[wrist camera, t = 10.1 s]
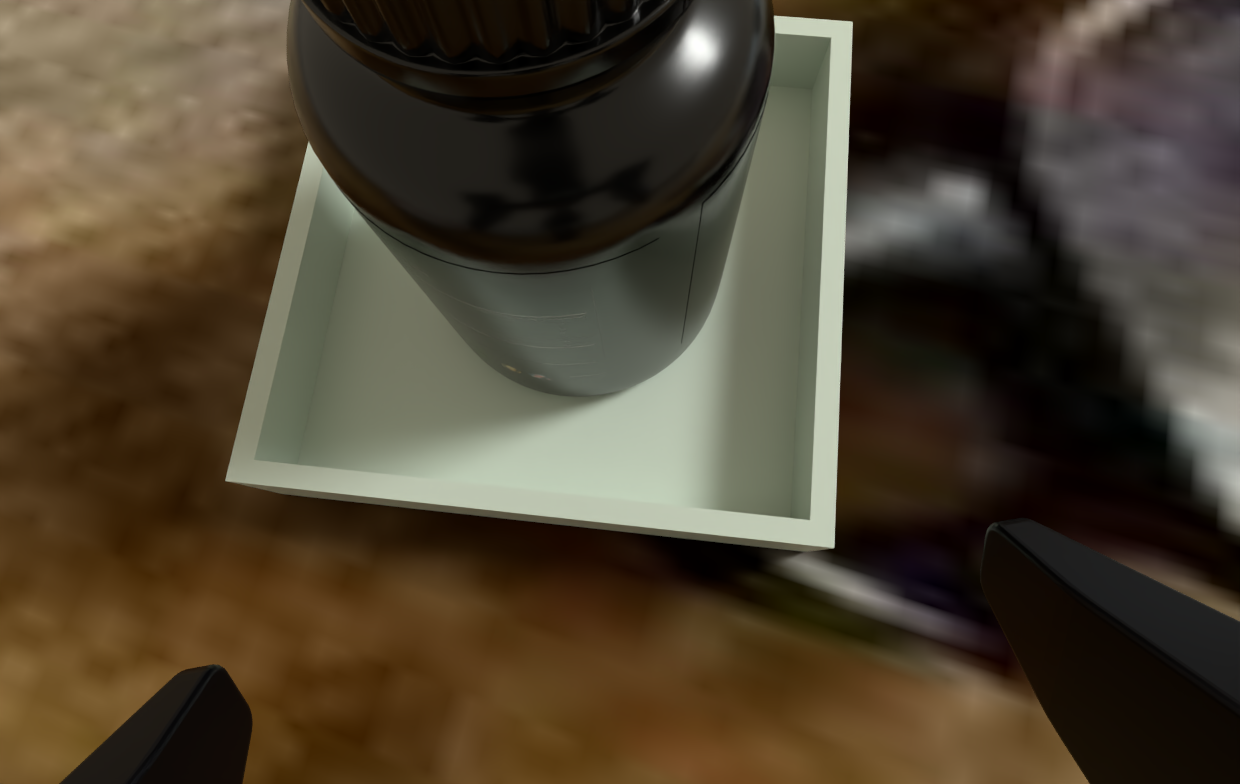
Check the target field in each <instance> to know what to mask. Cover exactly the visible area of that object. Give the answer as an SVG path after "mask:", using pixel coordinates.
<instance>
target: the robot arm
mask: <svg viewBox="0 0 1240 784" xmlns="http://www.w3.org/2000/svg"><path fill="white" fill-rule="evenodd" d="M980 580H981V585H982V589H983V592H984V594H985V596H986V598H987V600H988V602H989V604H990V606H991V608H992V610H993V612H994V614H995V616H996V618H997V620H998V622H999V624H1000V626H1001V628H1002V630H1003V632H1004V634H1005V636H1006V638H1007V640H1008V642H1009V644H1010V646H1011V648H1012V650H1013V652H1014V653H1015V655H1016V657H1017V659H1018V661H1019V663H1020V665H1021V667H1022V669H1023V671H1024V673H1025V675H1026V677H1027V679H1028V681H1029V683H1030V685H1031V687H1032V689H1033V691H1034V693H1035V695H1036V697H1037V699H1038V700H1039V702H1040V704H1041V706H1042V708H1043V710H1044V712H1045V713H1046V715H1047V717H1048V718H1049V720H1050V722H1051V723H1052V725H1053V727H1054V728H1055V730H1056V732H1057V733H1058V735H1059V737H1060V738H1061V740H1062V741H1063V743H1064V744H1065V746H1066V747H1067V749H1068V751H1069V752H1070V754H1071V755H1072V757H1073V758H1074V760H1075V761H1076V763H1077V765H1078V766H1079V768H1080V769H1081V771H1082V772H1083V774H1084V775H1085V777H1086V779H1087V780H1088V782H1089V783H1090V784H1240V622H1239V621H1237V620H1235V619H1233V618H1231V617H1229V616H1227V615H1225V614H1223V613H1221V612H1219V611H1217V610H1215V609H1213V608H1211V607H1209V606H1207V605H1205V604H1203V603H1201V602H1199V601H1197V600H1195V599H1192V598H1190V597H1188V596H1186V595H1184V594H1182V593H1180V592H1178V591H1176V590H1174V589H1172V588H1170V587H1168V586H1166V585H1164V584H1162V583H1160V582H1158V581H1156V580H1154V579H1152V578H1150V577H1148V576H1146V575H1143V574H1141V573H1139V572H1137V571H1135V570H1133V569H1131V568H1129V567H1127V566H1125V565H1123V564H1121V563H1119V562H1117V561H1115V560H1113V559H1111V558H1109V557H1107V556H1105V555H1103V554H1101V553H1099V552H1096V551H1094V550H1092V549H1090V548H1088V547H1086V546H1084V545H1082V544H1080V543H1078V542H1076V541H1074V540H1072V539H1070V538H1068V537H1066V536H1064V535H1062V534H1060V533H1058V532H1056V531H1054V530H1052V529H1050V528H1047V527H1045V526H1043V525H1041V524H1039V523H1037V522H1035V521H1033V520H1030V519H1027V518H1017V519H1011V520H1006V521H1000V522H995V523H993V524H991V525H990V526H989V528H988V529H987V532H986V537H985V543H984V550H983V557H982V564H981V570H980ZM251 733H252V714H251V711H250V708H249V706H248V704H247V702H246V701H245V699H244V697H243V696H242V694H241V693H240V691H239V690H238V688H237V686H236V685H235V683H234V682H233V680H232V679H231V677H230V675H229V674H228V672H227V671H226V670H225V668H223V667H221V666H220V665H214V664H213V665H208V666H202V667H197V668H191V669H186V670H184V671H181V672H180V673H178V674H177V675H175V676H174V677H173V678H172V679H171V680H170V681H169V682H168V683H167V684H166V685H164V686H163V687H162V688H161V689H160V690H159V691H158V692H157V693H156V694H155V695H154V696H153V697H152V698H151V699H149V700H148V701H147V702H146V703H145V704H144V705H143V706H142V707H141V708H140V709H139V710H138V711H137V712H136V713H134V714H133V715H132V716H131V717H130V718H129V719H128V720H127V721H126V722H125V723H124V724H123V725H122V726H121V727H119V728H118V729H117V730H116V731H115V732H114V733H113V734H112V735H111V736H110V737H109V738H108V739H107V740H106V741H104V742H103V743H102V744H101V745H100V746H99V747H98V748H97V749H96V750H95V751H94V752H93V753H92V754H91V755H89V756H88V757H87V758H86V759H85V760H84V761H83V762H82V763H81V764H80V765H79V766H78V767H77V768H76V769H74V770H73V771H72V772H71V773H70V774H69V775H68V776H67V777H66V778H65V779H64V780H63V781H62V782H61V783H59V784H242V783H243V778H244V772H245V766H246V761H247V755H248V750H249V744H250V738H251Z"/></svg>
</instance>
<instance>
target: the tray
mask: <svg viewBox="0 0 1240 784" xmlns="http://www.w3.org/2000/svg"><path fill="white" fill-rule="evenodd" d="M774 24H775V51H774V60H773V67H772V73H771V80H770V86H769V93H768V97H767V102H766V106H765V110H764V114H763V118H762V122H761V126H760V130H759V134H758V138H757V142H756V145H755V149H754V153H753V157H752V161H751V165H750V169H749V173H748V177H747V181H746V185H745V189H744V193H743V197H742V201H741V204H740V208H739V212H738V216H737V220H736V224H735V228H734V232H733V236H732V240H731V244H730V248H729V252H728V256H727V260H726V263H725V267H724V271H723V275H722V279H721V282H720V286H719V289H718V292H717V296H716V299H715V302H714V304H713V307H712V309H711V312H710V314H709V316H708V318H707V320H706V322H705V324H704V326H703V327H702V329H701V330H700V332H699V334H698V335H697V337H696V338H695V339H694V341H693V342H692V343H691V344H690V346H689V347H688V348H687V349H686V350H685V351H684V352H683V353H682V354H681V355H680V356H679V357H678V358H677V359H676V360H675V361H674V362H673V363H671V364H670V365H669V366H668V367H667V368H665V369H664V370H662V371H661V372H659V373H658V374H656V375H655V376H653V377H651V378H649V379H647V380H646V381H644V382H642V383H639V384H637V385H635V386H632V387H630V388H627V389H624V390H621V391H618V392H613V393H609V394H604V395H597V396H588V397H570V396H559V395H553V394H547V393H543V392H540V391H536V390H533V389H530V388H528V387H525V386H522V385H520V384H518V383H516V382H514V381H512V380H510V379H508V378H506V377H505V376H503V375H502V374H500V373H499V372H497V371H496V370H494V369H493V368H492V367H491V366H489V365H488V364H487V363H486V362H484V361H483V360H482V359H481V358H480V357H479V356H478V355H477V354H476V353H475V352H474V351H473V350H472V349H471V348H470V347H469V345H468V344H467V343H466V342H465V341H464V340H463V339H462V338H461V336H460V335H459V334H458V333H457V332H456V330H455V329H454V328H453V327H452V326H451V324H450V323H449V322H448V321H447V320H446V318H445V317H444V316H443V315H442V313H441V312H440V311H439V310H438V309H437V307H436V306H435V305H434V304H433V303H432V301H431V300H430V299H429V298H428V297H427V295H426V294H425V293H424V292H423V290H422V289H421V288H420V287H419V286H418V284H417V283H416V282H415V281H414V280H413V278H412V277H411V276H410V275H409V274H408V272H407V271H406V270H405V269H404V267H403V266H402V265H401V264H400V263H399V261H398V260H397V259H396V258H395V257H394V255H393V254H392V253H391V252H390V251H389V249H388V248H387V247H386V246H385V245H384V243H383V242H382V241H381V240H380V238H379V237H378V236H377V235H376V234H375V232H374V231H373V230H372V229H371V228H370V226H369V225H368V224H367V223H366V222H365V220H364V219H363V218H362V217H361V215H360V214H359V213H358V212H357V211H356V209H355V208H354V207H353V206H352V205H351V203H350V202H349V201H348V200H347V198H346V197H345V196H344V195H343V194H342V192H341V191H340V190H339V188H338V187H337V186H336V184H335V183H334V181H333V180H332V179H331V177H330V176H329V174H328V173H327V171H326V170H325V168H324V166H323V165H322V163H321V162H320V160H319V159H318V157H317V156H316V154H315V153H314V151H313V149H312V147H311V145H310V143H309V142H308V146H307V150H306V154H305V158H304V162H303V166H302V170H301V174H300V179H299V183H298V187H297V191H296V195H295V199H294V203H293V207H292V211H291V215H290V219H289V223H288V227H287V231H286V235H285V240H284V244H283V248H282V252H281V256H280V260H279V264H278V268H277V272H276V276H275V280H274V284H273V288H272V292H271V296H270V301H269V305H268V309H267V313H266V317H265V321H264V325H263V329H262V333H261V337H260V341H259V345H258V349H257V353H256V357H255V362H254V366H253V370H252V374H251V378H250V382H249V386H248V390H247V394H246V398H245V402H244V406H243V410H242V414H241V418H240V423H239V427H238V431H237V435H236V439H235V443H234V447H233V451H232V455H231V459H230V463H229V467H228V471H227V475H226V479H225V481H227V482H232V483H236V484H240V485H245V486H249V487H254V488H258V489H262V490H267V491H271V492H275V493H280V494H286V495H295V496H304V497H313V498H322V499H331V500H340V501H349V502H359V503H368V504H377V505H386V506H395V507H404V508H413V509H422V510H431V511H440V512H449V513H458V514H467V515H476V516H485V517H494V518H503V519H512V520H521V521H530V522H539V523H548V524H557V525H567V526H576V527H585V528H594V529H603V530H612V531H621V532H630V533H639V534H648V535H657V536H666V537H675V538H684V539H693V540H702V541H711V542H720V543H729V544H738V545H747V546H756V547H766V548H775V549H784V550H793V551H802V552H808V551H816V550H823V549H831V548H834V539H835V511H836V482H837V454H838V426H839V397H840V369H841V340H842V312H843V283H844V255H845V226H846V198H847V169H848V141H849V112H850V84H851V55H852V27H853V22H849V21H835V20H822V19H809V18H796V17H783V16H774Z"/></svg>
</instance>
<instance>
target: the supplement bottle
mask: <svg viewBox="0 0 1240 784" xmlns="http://www.w3.org/2000/svg"><path fill="white" fill-rule="evenodd" d="M774 51H775V24H774V11H773V4H772V0H291V2H290V7H289V16H288V25H287V65H288V74H289V82H290V88H291V93H292V97H293V101H294V105H295V109H296V111H297V114H298V117H299V120H300V122H301V125H302V128H303V131H304V133H305V135H306V137H307V139H308V141H309V143H310V145H311V147H312V149H313V151H314V153H315V154H316V156H317V157H318V159H319V160H320V162H321V163H322V165H323V166H324V168H325V170H326V171H327V173H328V174H329V176H330V177H331V179H332V180H333V181H334V183H335V184H336V186H337V187H338V188H339V190H340V191H341V192H342V194H343V195H344V196H345V197H346V198H347V200H348V201H349V202H350V203H351V205H352V206H353V207H354V208H355V209H356V211H357V212H358V213H359V214H360V215H361V217H362V218H363V219H364V220H365V222H366V223H367V224H368V225H369V226H370V228H371V229H372V230H373V231H374V232H375V234H376V235H377V236H378V237H379V238H380V240H381V241H382V242H383V243H384V245H385V246H386V247H387V248H388V249H389V251H390V252H391V253H392V254H393V255H394V257H395V258H396V259H397V260H398V261H399V263H400V264H401V265H402V266H403V267H404V269H405V270H406V271H407V272H408V274H409V275H410V276H411V277H412V278H413V280H414V281H415V282H416V283H417V284H418V286H419V287H420V288H421V289H422V290H423V292H424V293H425V294H426V295H427V297H428V298H429V299H430V300H431V301H432V303H433V304H434V305H435V306H436V307H437V309H438V310H439V311H440V312H441V313H442V315H443V316H444V317H445V318H446V320H447V321H448V322H449V323H450V324H451V326H452V327H453V328H454V329H455V330H456V332H457V333H458V334H459V335H460V336H461V338H462V339H463V340H464V341H465V342H466V343H467V344H468V345H469V347H470V348H471V349H472V350H473V351H474V352H475V353H476V354H477V355H478V356H479V357H480V358H481V359H482V360H483V361H484V362H486V363H487V364H488V365H489V366H491V367H492V368H493V369H494V370H496V371H497V372H499V373H500V374H502V375H503V376H505V377H506V378H508V379H510V380H512V381H514V382H516V383H518V384H520V385H522V386H525V387H528V388H530V389H533V390H536V391H540V392H543V393H547V394H553V395H559V396H570V397H588V396H597V395H604V394H609V393H613V392H618V391H621V390H624V389H627V388H630V387H632V386H635V385H637V384H639V383H642V382H644V381H646V380H647V379H649V378H651V377H653V376H655V375H656V374H658V373H659V372H661V371H662V370H664V369H665V368H667V367H668V366H669V365H670V364H671V363H673V362H674V361H675V360H676V359H677V358H678V357H679V356H680V355H681V354H682V353H683V352H684V351H685V350H686V349H687V348H688V347H689V346H690V344H691V343H692V342H693V341H694V339H695V338H696V337H697V335H698V334H699V332H700V330H701V329H702V327H703V326H704V324H705V322H706V320H707V318H708V316H709V314H710V312H711V309H712V307H713V304H714V302H715V299H716V296H717V292H718V289H719V286H720V282H721V279H722V275H723V271H724V267H725V263H726V260H727V256H728V252H729V248H730V244H731V240H732V236H733V232H734V228H735V224H736V220H737V216H738V212H739V208H740V204H741V201H742V197H743V193H744V189H745V185H746V181H747V177H748V173H749V169H750V165H751V161H752V157H753V153H754V149H755V145H756V142H757V138H758V134H759V130H760V126H761V122H762V118H763V114H764V110H765V106H766V102H767V97H768V93H769V86H770V80H771V73H772V67H773V60H774Z"/></svg>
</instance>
